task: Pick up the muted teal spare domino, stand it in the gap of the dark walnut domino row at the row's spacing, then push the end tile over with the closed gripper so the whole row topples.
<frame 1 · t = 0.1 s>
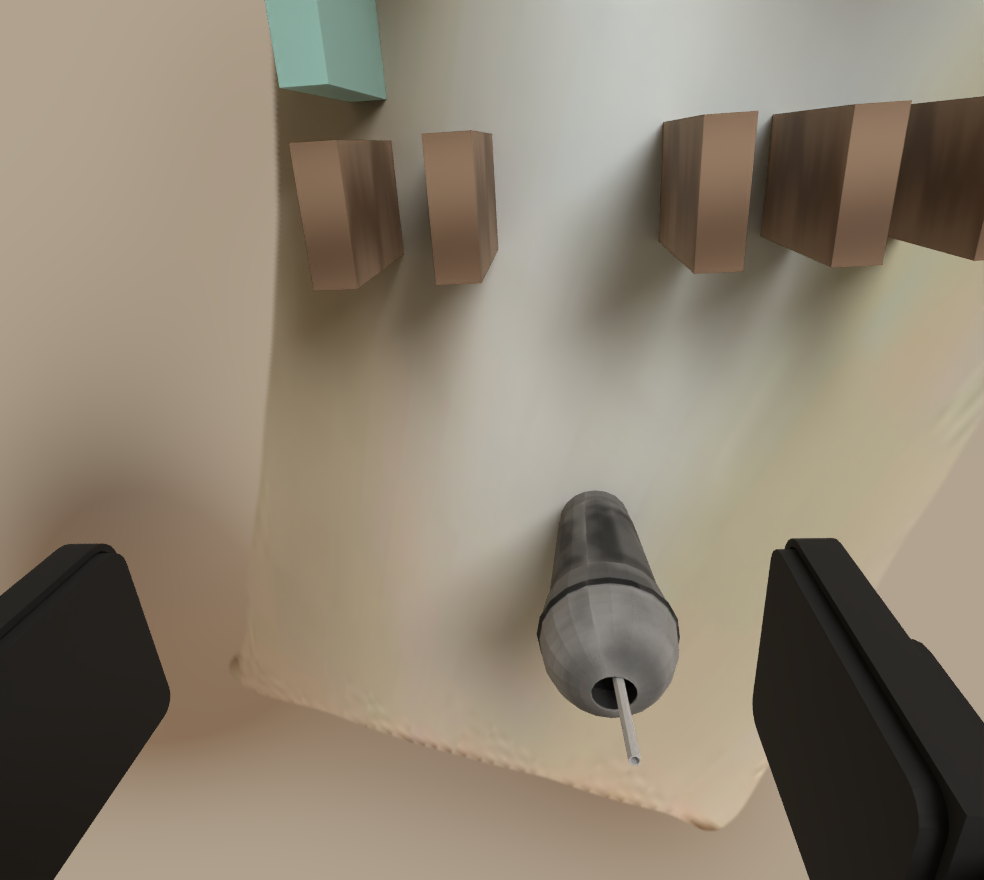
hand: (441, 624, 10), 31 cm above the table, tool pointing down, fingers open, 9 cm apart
teal domino: (360, 35, 34), on the table
domino 5: (895, 169, 34), on the table
domino 1: (380, 200, 37), on the table
beverage cup: (594, 518, 44), on the table
domino 4: (786, 176, 35), on the table
domino 2: (477, 194, 36), on the table
domino 3: (679, 182, 35), on the table
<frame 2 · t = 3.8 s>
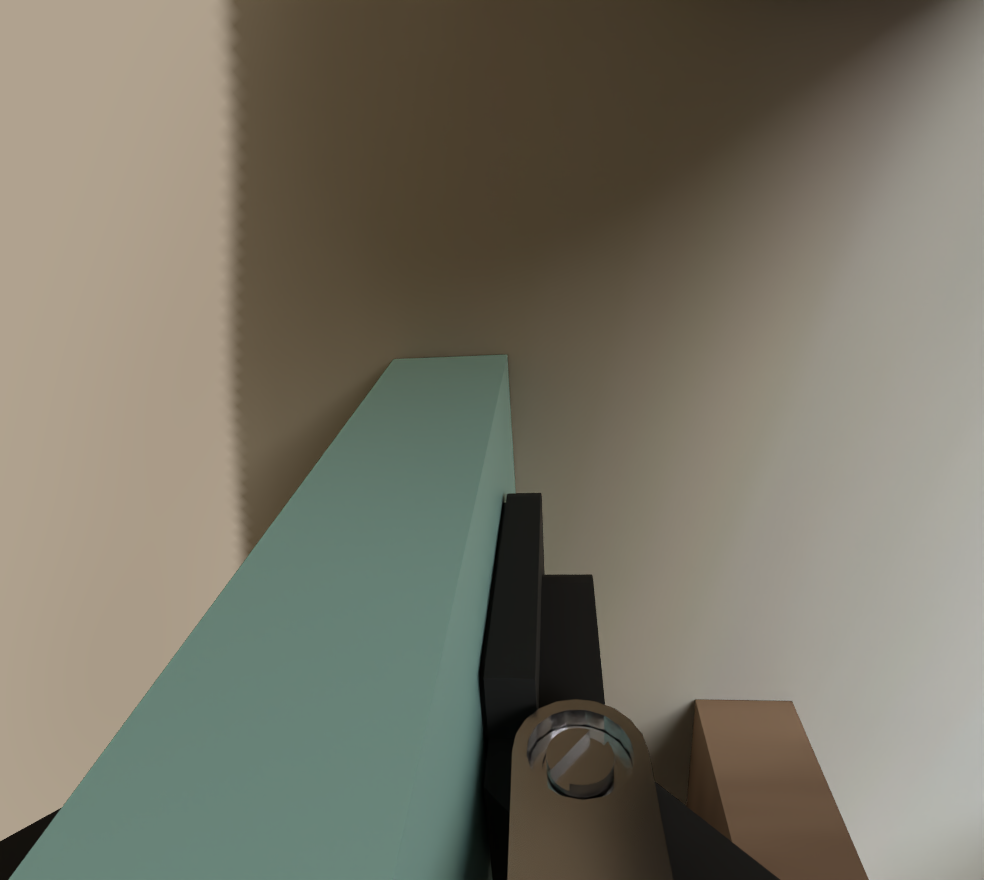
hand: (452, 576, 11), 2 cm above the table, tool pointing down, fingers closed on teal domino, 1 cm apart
teal domino: (464, 507, 13), on the table, touching gripper
domino 2: (731, 797, 15), on the table
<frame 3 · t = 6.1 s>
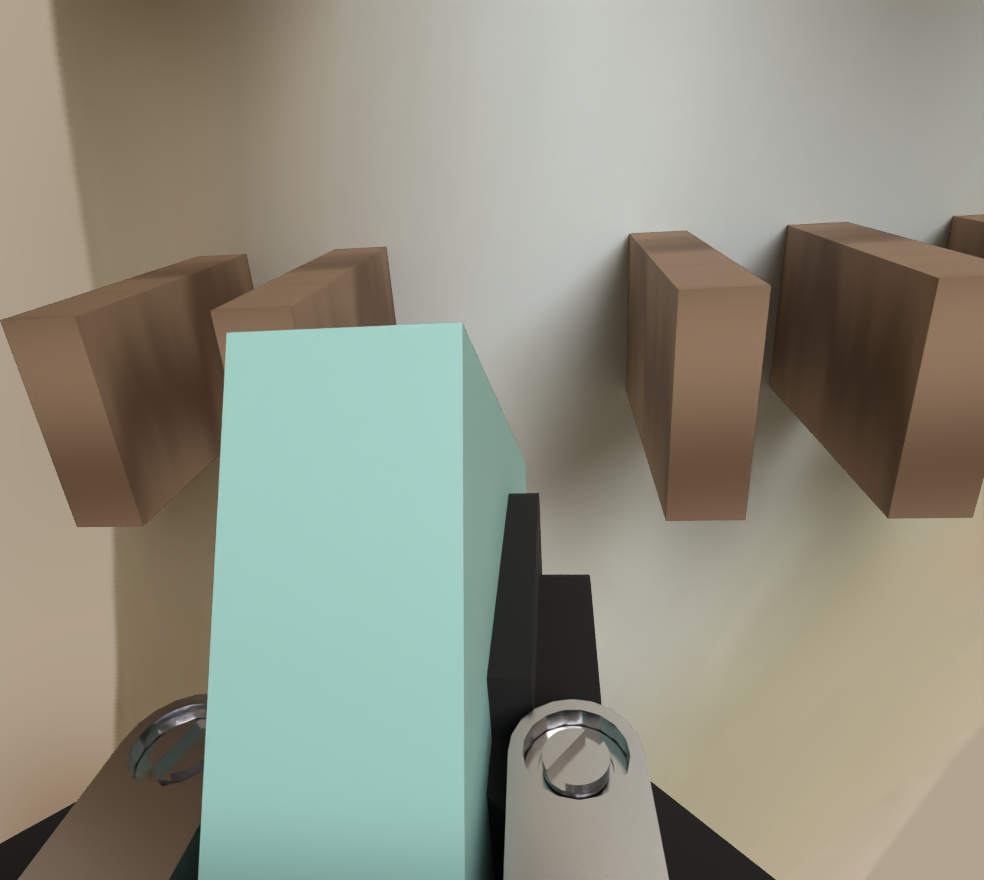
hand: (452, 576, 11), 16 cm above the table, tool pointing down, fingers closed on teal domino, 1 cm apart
teal domino: (484, 596, 15), point 13 cm above the table, tilted 33°, touching gripper
domino 5: (964, 301, 24), on the table
domino 1: (238, 331, 27), on the table
domino 4: (805, 308, 24), on the table
domino 2: (371, 326, 26), on the table
domino 3: (654, 314, 25), on the table
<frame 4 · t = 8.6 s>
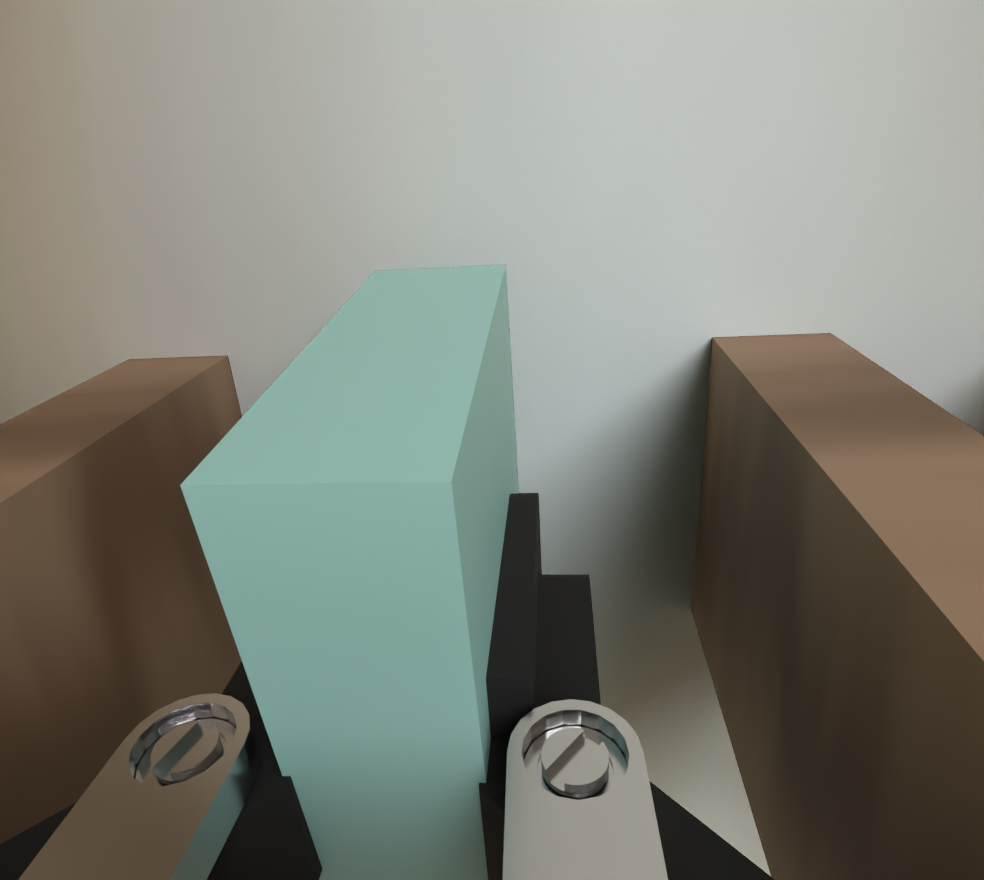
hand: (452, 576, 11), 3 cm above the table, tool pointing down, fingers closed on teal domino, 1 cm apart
teal domino: (472, 852, 12), point 4 cm above the table, tilted 85°, touching gripper
domino 2: (214, 494, 14), on the table
domino 3: (753, 486, 13), on the table
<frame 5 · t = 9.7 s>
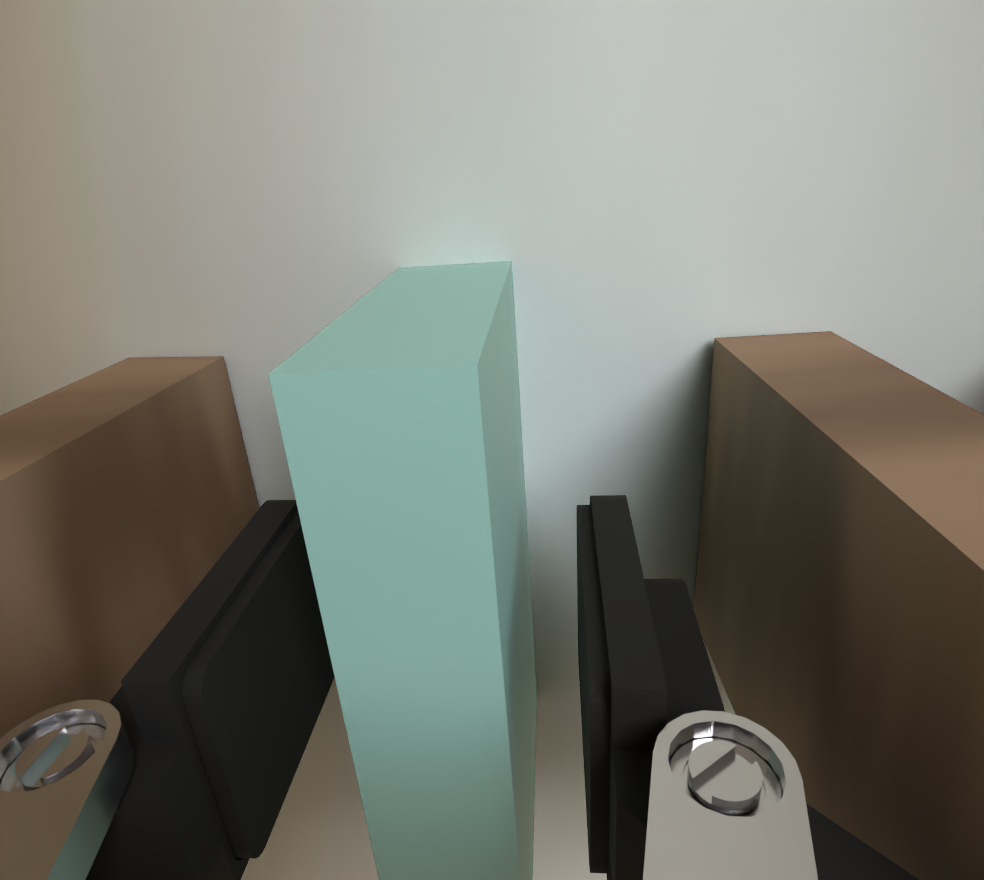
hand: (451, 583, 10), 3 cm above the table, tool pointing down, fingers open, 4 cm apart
teal domino: (483, 808, 13), point 3 cm above the table, tilted 90°
domino 2: (212, 495, 14), on the table, touching gripper
domino 3: (755, 486, 13), on the table
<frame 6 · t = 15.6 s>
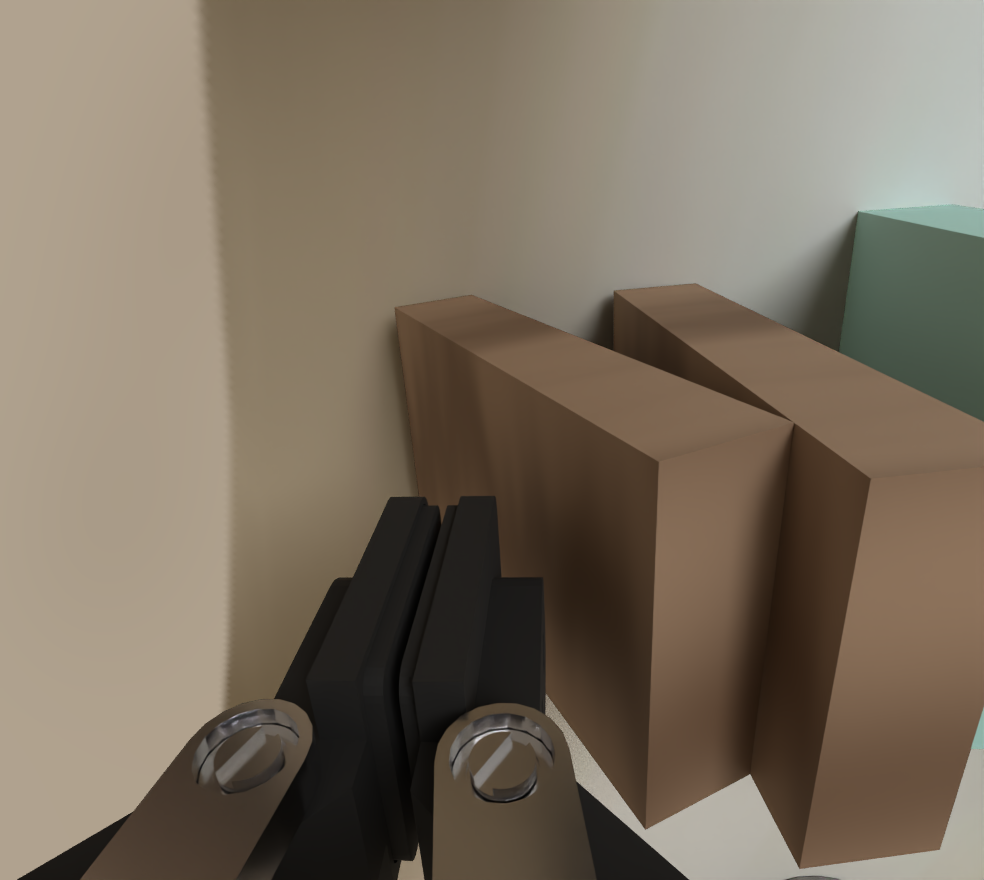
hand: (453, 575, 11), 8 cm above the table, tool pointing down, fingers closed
teal domino: (892, 646, 16), point 3 cm above the table, tilted 90°
domino 1: (445, 415, 17), on the table, tilted 29°
domino 2: (651, 403, 17), on the table, tilted 10°
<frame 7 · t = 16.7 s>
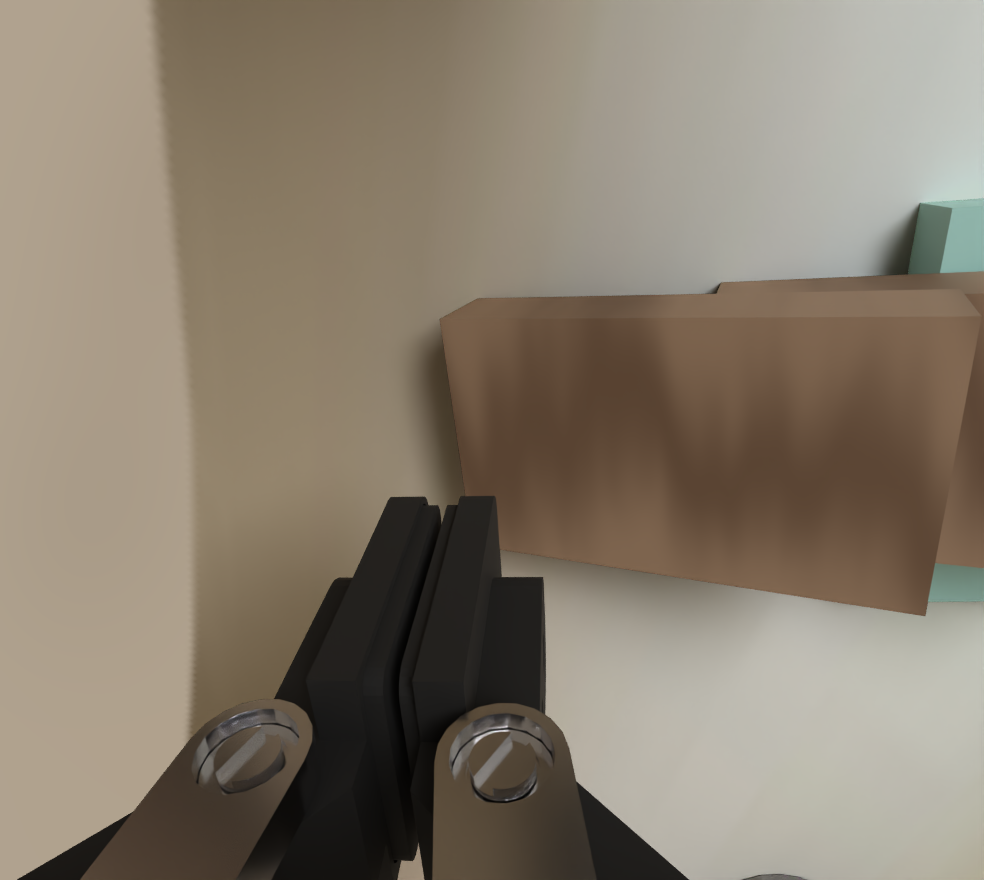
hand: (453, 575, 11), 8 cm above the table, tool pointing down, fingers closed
teal domino: (974, 578, 18), on the table, tilted 90°, touching domino 2
domino 1: (475, 424, 17), point 1 cm above the table, tilted 70°, touching domino 2
domino 2: (715, 414, 16), point 1 cm above the table, tilted 72°, touching domino 1, teal domino
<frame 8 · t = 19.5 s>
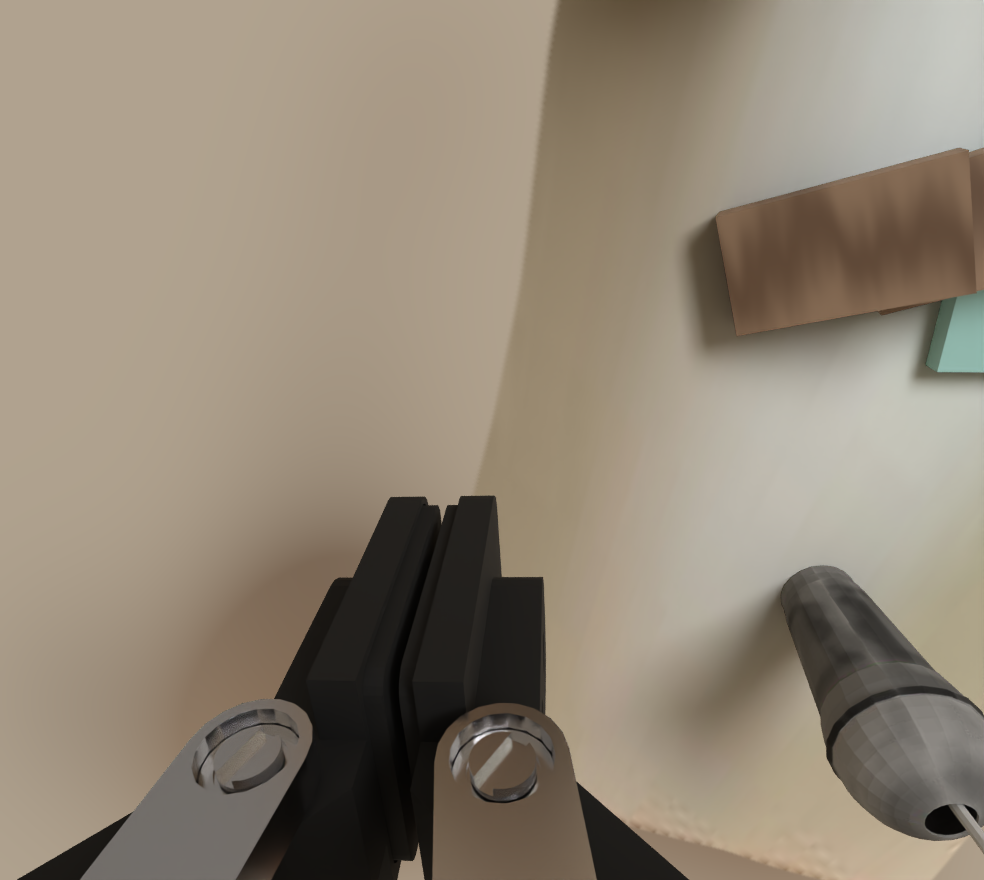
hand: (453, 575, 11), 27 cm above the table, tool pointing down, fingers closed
domino 1: (728, 274, 33), point 1 cm above the table, tilted 72°, touching domino 2
beverage cup: (816, 592, 42), on the table
domino 2: (866, 252, 32), point 1 cm above the table, tilted 79°, touching domino 1, teal domino
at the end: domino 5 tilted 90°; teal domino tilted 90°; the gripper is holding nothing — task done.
